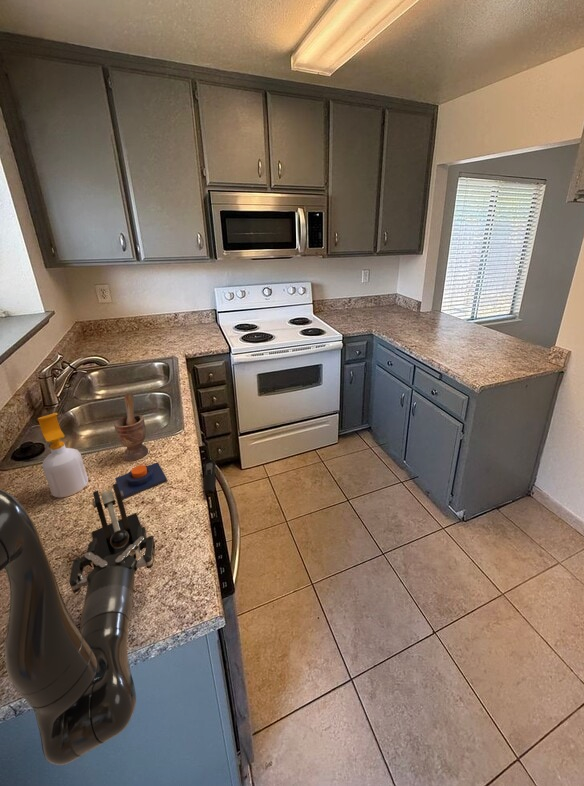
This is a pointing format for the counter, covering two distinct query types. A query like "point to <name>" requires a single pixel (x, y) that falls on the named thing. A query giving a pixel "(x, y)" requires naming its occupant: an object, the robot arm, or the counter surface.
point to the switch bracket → (107, 530)
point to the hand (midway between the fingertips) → (118, 534)
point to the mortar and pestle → (131, 431)
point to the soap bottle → (61, 461)
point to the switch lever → (114, 522)
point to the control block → (141, 481)
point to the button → (139, 471)
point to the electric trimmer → (209, 476)
